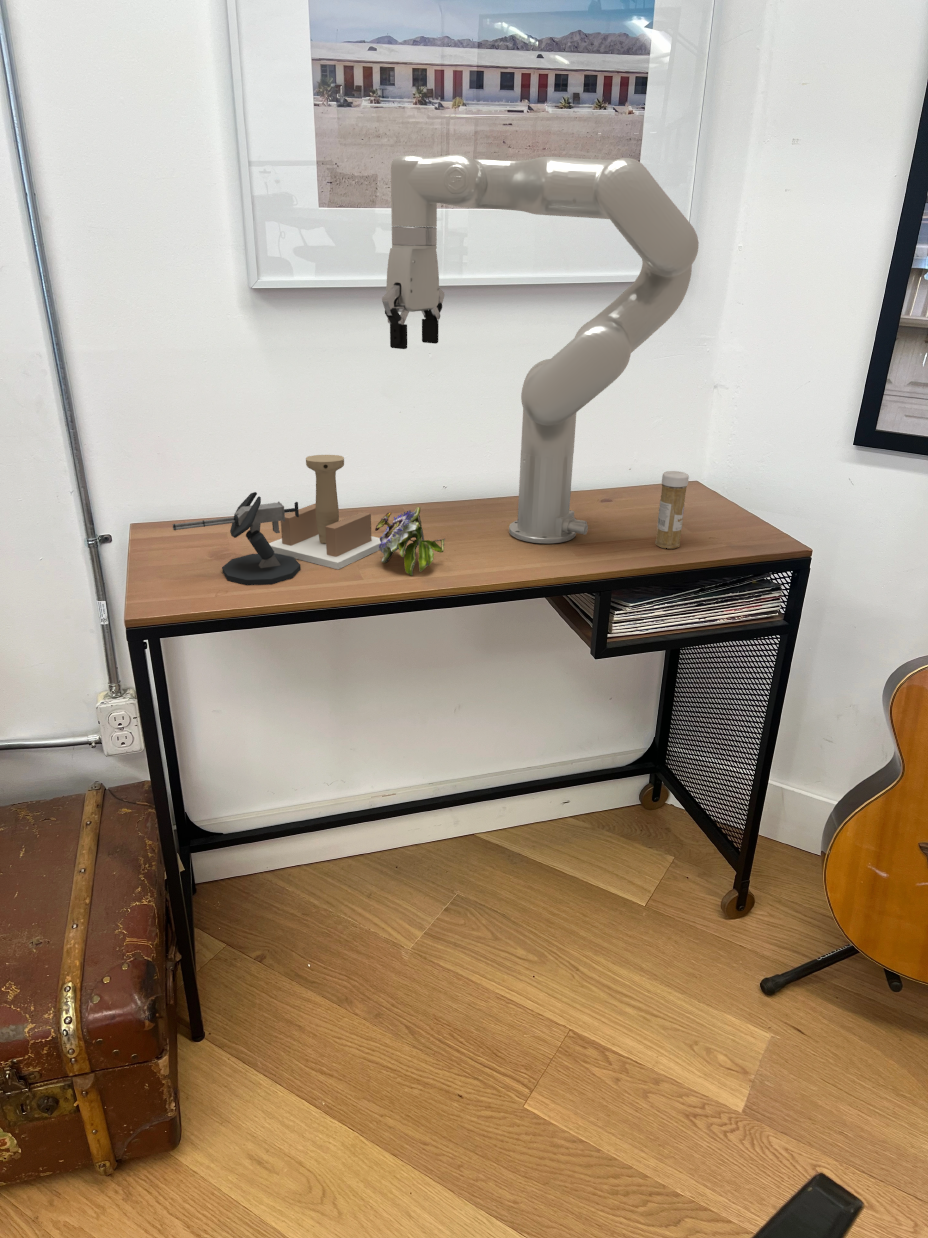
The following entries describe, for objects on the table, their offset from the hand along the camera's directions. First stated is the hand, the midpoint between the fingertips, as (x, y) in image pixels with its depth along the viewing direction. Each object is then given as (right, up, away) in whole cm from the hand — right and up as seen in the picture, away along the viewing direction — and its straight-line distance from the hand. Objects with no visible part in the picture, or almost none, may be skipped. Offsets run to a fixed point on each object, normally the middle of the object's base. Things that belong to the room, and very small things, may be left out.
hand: (414, 345), depth 153 cm
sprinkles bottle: (+46, -35, +7) cm, 58 cm away
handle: (-15, -35, +1) cm, 38 cm away
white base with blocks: (-16, -35, +2) cm, 39 cm away
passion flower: (-1, -39, -4) cm, 39 cm away
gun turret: (-27, -41, -10) cm, 50 cm away
